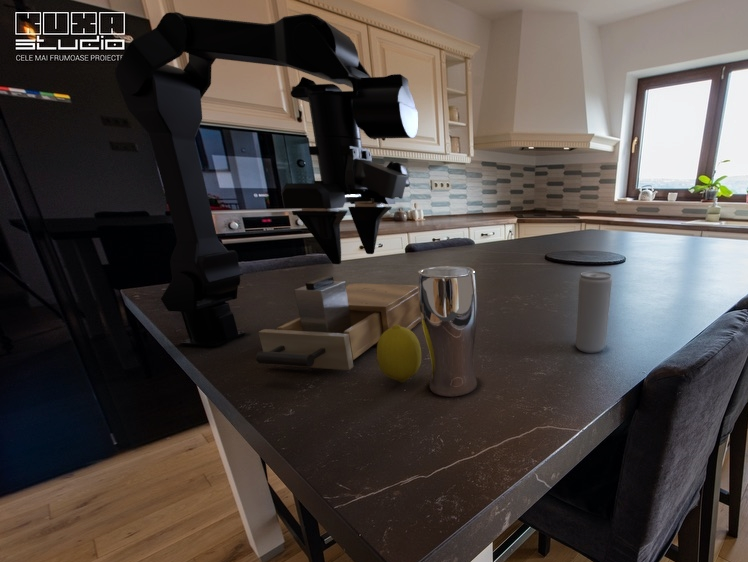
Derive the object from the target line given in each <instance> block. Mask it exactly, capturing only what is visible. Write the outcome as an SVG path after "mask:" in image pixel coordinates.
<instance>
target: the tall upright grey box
mask: <svg viewBox="0 0 748 562" xmlns="http://www.w3.org/2000/svg"><path fill="white" fill-rule="evenodd" d="M346 286H347V285H346V281H344V280H343V281H342V280H335V279H334V276H332V275H331V276H329V275H326V276H323V277H320V278H317V279H314V280H311V281H308V282H305V285H303V286H301V287H298V288H295V289H294V294H295V300H296V304H297V309H298V315H299V318H300V320H301V325H302V330H303V331H307V332H325V333H343V334H344V331H345V330H347V329H349V328H350V327H352V325H351V319H350V312H349V305H348V299H347V292H346Z"/></svg>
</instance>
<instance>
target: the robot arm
mask: <svg viewBox="0 0 748 562" xmlns="http://www.w3.org/2000/svg"><path fill="white" fill-rule="evenodd" d="M184 53H186V54H188V62H187V63H186V65H185V66H184V68H180V67H177V66H174V65H170V64H169V63H171V62H174V61H175V60H177V59H178V58H181V56H183V54H184ZM216 59H217V60H225V61H234V62H241V63H242V62H243V63H251V64H258V65H259V64H260V65H269V66H277V67H286V68H291V69H293V70H296V71H299V72H303V73H304V74H308V75H310V76H313V77H316V78H318V79H321V80H325V81H328V82H330V83H320V84H319V83H318V84H317V83H316V82H315V81H314V80H312V79H309V78H308V77H305V76H302V77H301V78H300V81H299V82H298V83H297V84H296V85H295V86H294V87H293V88H292V90H291V91H290V96H291V97H292V98H293V99H297V100H300V101H304V102H306V103H308V105H309V112H310V118H311V125H312V132H313V137H314V144H315V145H309V146H308V152H309V155H310V156H316V157H317V162H318V170H319V175H320V176H319V177H320V180H314V181H313V183H312V182H311V183H308V182H307V183H304V182H300V183H299V182H295V183H293V182H290V183H289V182H288V183H287V182H286V183H285V184H284V186H283V187H282V188H281V191H280V195H281V200H282V205H283V208H284V209H299V210H291V213H292V215H293V216H297V217H298V219H299V220H300V221H301V223H302V224H303V225H304V226H305V227H306V229H307V230H308V232H310V234H311V235H312V236H313V238H314V240H316V242H317V243H318V245H319V247H320V248H321V250H322V251H323V252H324V254H325V255H326V256H327V258H328V260H329V261H330V262H331V264H333V265H341V264H342V243H341V242H342V240H341V226H340V225H341V222H342V221H343V219H344V218H345V217H346V216H347V214H348V211H349V214H350V216H351V219H352V221H353V224H354V226H355V229H356V231H357V234H358V236H359V240H360V242H361V245H362V248H363V249H364V251H365V254H366V255H373V254H375V250H376V245H377V239H378V235H379V229H380V224H381V220H382V218H383V217H384V216H385V214H386V213H387V212H389V211H391V210H392V207H393V206H384V205H396V198H398V199H400V200H402V199H403V198H404V193H405V190H406V189H405V188H410V185H411V183H410V180H409V177H410V175H409V174H408V172H407V167H406V165H405V164H403V163H400V162H398V161H394V160H393V161H392V160H391V161H389V163H388V164H387V165H384V164H380V163H377V162H375V161H373V160H372V153H371V151H370V150H369V148H365V147H363V144H362V143H363V142H362V134H361V130H362V131H363V132H364V135H366V136H367V137H368V138H369V139H370V140H371V139H375V140H376V139H379V140H381V139H413V138H415V137H416V136H417V133H418V129H419V113H418V110H417V109H416V104H415V100H414V97H413V94H412V92H411V91H410V89H409V87H410V85H409V80H408V79H409V78H407V77H405V76H403V74H401V73H394V74H389V75H387V76H371V75H370V74H369V73H368V70H367V69H366V68H365V66H364V65H363V64H362V62H361V61H360V58H359V51H358V49H357V47H356V44H355V43H354V41H353V40H352V39H351V37H350V36H348V35H347V34H345V33H344V32H343V31H341V30H339V29H338V28H337V27H335V26H333V25H332V24H331V23H329V22H328V21H326V20H324V19H322V18H321V17H320V16H319V15H316V14H312V13H299V14H293V15H287V16H285V15H284V16H282V17H281V18H280V19H278V20H277V21H276V22H269V23H260V22H252V21H251V22H250V21H241V20H232V19H222V18H212V17H204V16H203V17H202V16H195V15H185V14H183V13H180V12H178V11H175V12H172V11H170V12H166V13H165V14H164V15H163V16H162V17H161V19H160V21H158V23H157V26H156V27H155V28H153V29H151V30H149V31H147V32H146V33H144V34H142V35H140V36H138V37H136V38H135V39H133V40H131V41H130V42H129V44H128V45H127V47H126V48H125V50H124V52H123V54H122V55H121V57H120V59H119V61H118V62H117V64H116V65H115V66H114V77H115V81H116V84H117V86H118V89H119V91H120V94H121V96H122V98H123V101H124V103H125V106H126V109H127V110H128V112H129V113H130V114H131V115H132V116H133V117H134V119H135V120H136V121H137V122H138V123H139V124H140V125H141V127H142V128H143V129H144V130H145V131H146V132H147V134H148V137H149V138H150V142H151V146H152V151H153V154H154V157H155V161H156V165H157V169H158V173H159V176H160V180H161V183H162V188H163V191H164V195H165V199H166V202H167V206H168V210H169V214H170V218H171V222H172V225H173V229H174V232H175V233H174V234H175V237H176V245H175V246H174V249H173V252H172V254H171V257H170V259H169V264H170V274H171V281H169V284H168V286H166V289H165V291H163V294H162V296H161V297H160V301H161V302H162V303H163V306H164V307H165V309H166V310H167V311H168V312H176V313H180V314H181V317H182V320H183V323H184V326H185V329H186V332H187V336H188V338H187V339H184V340H182V341H180V344H181V345H182V346H190V347H191V346H192V347H193V346H194V347H208V348H209V347H210V348H215V347H218V346H219V347H220V346H221V345H223V344H226V343H228V342H231V341H232V340H235V339H237V338H240V337H241V336H244V335H245V333H246V332H245V331H244V330H238V327H237V323H236V320H235V315H234V312H233V311H232V310H231V307H230V302H228V301H232V300H237V299H238V292H239V291H238V289H239V286H240V285H241V276H243V272H242V269H241V266H240V264H239V263H240V262H239V254H238V253H237V251H236V250H234V249H233V250H228V249H227V248H226V247H225V245H224V244H222V242H221V241H220V240H219V238H218V234H217V230H216V226H215V222H214V221H215V220H214V217H213V213H212V208H211V204H210V199H209V196H208V191H207V187H206V182H205V177H204V173H203V169H202V165H201V160H200V156H199V152H198V146H197V142H196V136H197V134H198V131H199V128H200V126H201V123H202V121H203V108H202V98H203V97H204V95H205V94H206V93H207V91H208V90H209V88H210V87H211V85H212V68H213V67H212V66H213V64H214V63H215V61H216ZM336 84H337V85H336ZM338 85H345V86H347V87H349V88H351V89H352V90H342V89H341V88H340V87H339V86H338ZM346 203H350V205H353V206H348V207H347V208H348V210H345V209H344V210H340V209H342V208H344V206H345V204H346Z"/></svg>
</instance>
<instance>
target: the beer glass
mask: <svg viewBox="0 0 748 562" xmlns="http://www.w3.org/2000/svg"><path fill="white" fill-rule="evenodd" d="M417 274H418V286H419V309H420V318H421V322H420V323H421V327H422V331H423V335H424V338H425V341H426V346H427V349H428V353H429V357H430V378H429V389H430V391H431V392H432V393H433V394H435V395H437V396H440V397H446V398H447V397H450V398H452V397H461V396H464V395H468V394H469V393H471V392H473V391H474V390H475V389H476V388H477V385H478V380H477V376H476V371H475V367H474V366H475V365H474V349H475V343H476V335H477V327H478V318H479V301H478V290H477V281H476V271H475V269H474V268H472V267H469V266H467V267H466V266H462V265H461V266H460V265H441V266H432V267H426V268H423V269H420V270H418V272H417Z"/></svg>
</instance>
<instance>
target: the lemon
mask: <svg viewBox="0 0 748 562" xmlns="http://www.w3.org/2000/svg"><path fill="white" fill-rule="evenodd" d="M376 359H377V363H378V367H379V369H380V371H381V372H382V373H383V374H384V375H385V377H388V378H389V379H391V380H395V381H398V382H399V383H405V382H406V381H407V380H408V379H410V378H411V377H413V376H415V375H416V374H417V372H418V371H419V369H420V366H421V364H422V347H421V343H420V341H419V339H418V337H417V335H416V334H415V333H414V332H413V331H412V330H409V329H407V328H404V327H401V326H399V325H394V326H393V327H392V328H390V329H388V330H386V331H385V332H384V333H383V334H382V335H381V337H380V339H379V341H378V345H377V346H376Z"/></svg>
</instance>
